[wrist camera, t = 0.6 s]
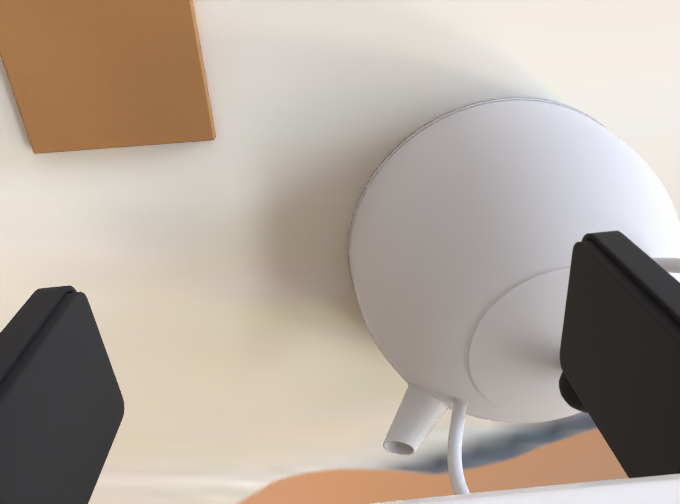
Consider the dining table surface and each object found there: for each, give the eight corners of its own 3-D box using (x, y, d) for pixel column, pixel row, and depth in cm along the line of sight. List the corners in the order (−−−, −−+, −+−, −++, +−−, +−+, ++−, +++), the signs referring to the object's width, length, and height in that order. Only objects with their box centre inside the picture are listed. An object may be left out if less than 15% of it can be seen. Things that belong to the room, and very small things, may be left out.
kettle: (457, 416, 51) (552, 709, 31) (267, 276, 43) (233, 550, 23) (696, 236, 43) (1029, 472, 23) (520, 23, 35) (799, 107, 15)
